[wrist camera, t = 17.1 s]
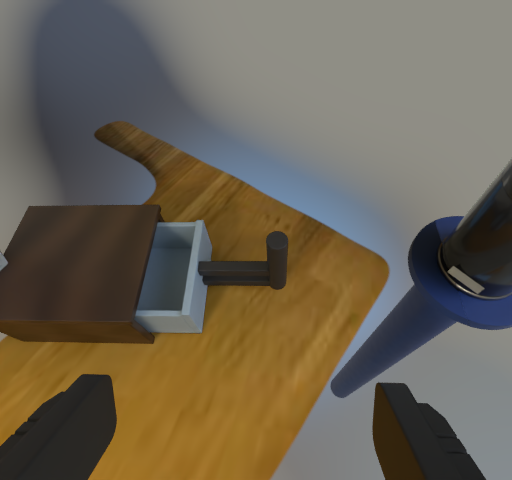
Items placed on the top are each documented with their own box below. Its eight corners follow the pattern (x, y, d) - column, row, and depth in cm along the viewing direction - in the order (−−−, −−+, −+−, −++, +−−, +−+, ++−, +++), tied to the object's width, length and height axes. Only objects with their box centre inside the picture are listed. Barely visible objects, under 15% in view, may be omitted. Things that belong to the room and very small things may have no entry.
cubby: (177, 240, 43) (159, 204, 36) (157, 343, 35) (130, 322, 29) (65, 240, 44) (28, 205, 37) (23, 341, 36) (-31, 319, 30)
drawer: (285, 246, 41) (286, 192, 32) (286, 334, 35) (289, 297, 26) (109, 247, 42) (65, 195, 34) (82, 331, 36) (19, 295, 28)
